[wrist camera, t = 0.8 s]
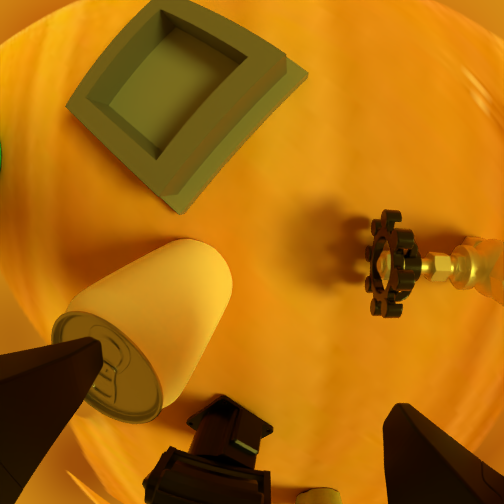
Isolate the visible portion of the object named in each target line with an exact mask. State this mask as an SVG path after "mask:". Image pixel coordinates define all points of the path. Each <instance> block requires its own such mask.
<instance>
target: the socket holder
mask: <svg viewBox="0 0 504 504" xmlns="http://www.w3.org/2000/svg"><path fill="white" fill-rule="evenodd" d="M307 78H308V72H307V71H305V70H304V69H303V68H301V67H300V66H299V65H297V64H296V63H294V62H293V61H292V60H290V59H289V58H287V57H286V54H285V53H284V52H282V51H281V50H279V49H278V48H276V47H275V46H273V45H272V44H270V43H269V42H267V41H265V40H264V39H262V38H261V37H259V36H257V35H256V34H254V33H252V32H250V31H249V30H247V29H245V28H244V27H242V26H240V25H238V24H236V23H235V22H233V21H231V20H229V19H227V18H225V17H223V16H221V15H219V14H217V13H215V12H213V11H211V10H209V9H207V8H205V7H203V6H200V5H198V4H196V3H194V2H191V1H189V0H151V1H150V2H149V3H148V4H147V5H146V6H145V7H144V8H143V9H142V10H141V11H140V12H138V14H137V15H136V16H135V17H134V18H133V19H132V20H131V21H130V22H129V23H128V24H127V25H126V26H125V27H124V28H123V29H122V30H121V32H120V33H119V34H118V35H117V36H116V37H115V38H114V39H113V41H112V42H111V43H110V44H109V45H108V47H107V48H106V49H105V50H104V52H103V53H102V54H101V55H100V57H99V58H98V59H97V60H96V62H95V63H94V64H93V66H92V67H91V68H90V70H89V71H88V73H87V74H86V75H85V77H84V78H83V80H82V81H81V83H80V84H79V85H78V87H77V88H76V90H75V92H74V93H73V95H72V96H71V98H70V99H69V101H68V103H67V104H66V106H65V107H66V108H67V109H68V110H69V111H70V112H71V113H72V114H73V115H74V116H75V117H76V118H77V119H78V120H79V121H80V122H81V123H82V124H83V125H84V126H85V127H86V128H87V129H88V130H89V131H90V132H91V133H92V134H94V135H95V136H96V137H97V138H98V139H99V140H100V141H101V142H102V143H103V144H104V145H105V146H106V147H107V148H108V149H109V150H110V151H111V152H112V153H113V154H114V155H115V156H116V157H117V158H118V159H119V160H120V161H121V162H122V163H123V164H124V165H125V166H127V167H128V168H129V169H130V170H131V171H132V172H133V173H134V174H135V175H136V176H137V177H138V178H139V179H140V180H141V181H142V182H143V183H144V184H145V185H146V186H148V187H149V188H150V189H151V190H152V191H153V192H154V193H155V194H156V195H157V196H158V197H160V198H162V199H163V200H164V201H165V202H166V203H167V204H168V205H169V206H170V207H171V208H172V209H173V210H174V211H175V212H177V213H178V214H179V215H181V214H185V212H186V211H187V210H188V209H189V207H190V206H191V205H192V204H193V202H194V201H195V200H196V199H197V197H198V196H199V195H200V194H201V193H202V191H203V190H204V189H205V188H206V187H207V185H208V184H209V183H210V182H211V181H212V179H213V178H214V177H215V176H216V175H217V173H218V172H219V171H220V170H221V169H222V168H223V167H224V165H225V164H226V163H227V162H228V161H229V160H230V158H231V157H232V156H233V155H234V154H235V153H236V152H237V151H238V149H239V148H240V147H241V146H242V145H243V144H244V143H245V142H246V141H247V139H248V138H249V137H250V136H251V135H252V134H253V133H254V132H255V131H256V130H257V129H258V128H259V127H260V125H261V124H262V123H263V122H264V121H265V120H266V119H267V118H268V117H269V116H270V115H271V114H272V113H273V112H274V111H275V110H276V109H277V108H278V107H279V106H280V105H281V104H282V103H283V102H284V101H285V100H286V99H287V98H288V97H289V96H290V95H291V94H292V93H293V92H294V91H295V90H296V89H297V88H298V87H299V86H300V85H301V84H302V83H303V82H304V81H305V80H306V79H307Z"/></svg>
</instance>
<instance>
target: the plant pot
mask: <svg viewBox="0 0 504 504" xmlns="http://www.w3.org/2000/svg"><path fill="white" fill-rule="evenodd" d="M295 504H342V501H341V497H340V493H339V492H338V491H335V490H333V489H331V488H317V489H311V490H309V491H308V492H306V493H300V494H299V495H298V496H297V498H296V502H295Z"/></svg>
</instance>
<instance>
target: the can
mask: <svg viewBox="0 0 504 504" xmlns="http://www.w3.org/2000/svg"><path fill="white" fill-rule="evenodd" d="M231 293H232V277H231V273H230V270H229V267H228V265H227V263H226V262H225V260H224V259H223V257H222V256H221V255H220V254H219V252H218V251H217V250H215V249H214V248H213V247H211V246H210V245H208V244H206V243H203V242H201V241H197V240H193V239H179V240H175V241H172V242H170V243H168V244H166V245H164V246H162V247H160V248H158V249H156V250H154V251H152V252H150V253H148V254H146V255H144V256H142V257H140V258H139V259H137V260H135V261H133V262H131V263H129V264H127V265H126V266H124V267H122V268H120V269H118V270H117V271H115V272H113V273H111V274H109V275H108V276H106V277H104V278H102V279H101V280H99V281H97V282H95V283H94V284H92V285H90V286H89V287H87V288H86V289H84V290H83V291H81V292H80V293H79V294H77V295H76V296H75V297H74V298H73V299H72V301H71V302H70V304H69V306H68V308H67V310H66V312H65V313H64V314H62V315H61V316H60V317H59V318H58V319H57V320H56V321H55V323H54V325H53V328H52V334H51V343H52V344H57V343H61V342H66V341H70V340H74V339H79V338H83V337H87V336H90V337H93V338H95V339H97V340H99V341H100V342H101V345H102V354H103V367H102V369H101V371H100V373H99V374H98V376H97V378H96V379H95V381H94V383H93V385H92V386H91V388H90V390H89V392H88V394H87V395H86V397H85V399H84V400H85V401H86V402H87V403H88V404H89V405H90V406H92V407H93V408H95V409H96V410H98V411H99V412H101V413H102V414H104V415H106V416H108V417H110V418H112V419H115V420H118V421H121V422H125V423H130V424H142V423H147V422H150V421H152V420H153V419H155V418H156V417H157V416H158V415H159V413H160V412H161V409H163V408H165V407H167V406H168V405H170V404H171V403H173V402H174V401H175V400H176V399H177V398H178V397H179V396H180V394H181V393H182V391H183V390H184V388H185V386H186V384H187V383H188V381H189V379H190V377H191V375H192V373H193V371H194V369H195V367H196V366H197V364H198V362H199V360H200V358H201V356H202V354H203V352H204V350H205V348H206V346H207V344H208V342H209V340H210V338H211V336H212V334H213V332H214V330H215V328H216V326H217V325H218V323H219V321H220V319H221V317H222V315H223V313H224V311H225V309H226V306H227V304H228V302H229V300H230V297H231Z"/></svg>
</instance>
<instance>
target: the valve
mask: <svg viewBox="0 0 504 504" xmlns="http://www.w3.org/2000/svg"><path fill="white" fill-rule="evenodd" d="M395 222H402V216H401V213H400V211H398V210H387V209H385V210H383V212H382V215H381V219H373V221H372V223H371V233H372V235H373V236H374V241H373V246H367V247H366V252H365V258H366V261H367V262H370V275H369V276H367V277H366V280H365V290H366V292H367V293H373V299H372V301H371V305H370V311H371V315H372V316H382V317H383V318H399V317H400V316H401V314H402V310H403V304H396V303H395V302H400V301H403V300H405V299H406V298H407V297H408V296H409V295H410V293H411V291H412V289H413V287H414V284H415V282H416V281H417V280H418V279H419V277H420V275H421V274H424V276H425V278H426V279H428V280H429V281H446V280H447V278H449V279H450V281H451V283H452V285H453V286H454V287H455V288H456V289H459V290H465V289H472V288H473V287H474V288H475V289H476V290H477V291H478V292H479V293H481V294H482V295H484V296H487V297H492V298H493V299H494V300H496V301H497V302H498V303H500V304H501V305H503V306H504V242H503V241H501V240H497V239H488V240H486V239H483V238H478V237H467V236H466V238H465V239H464V241H463V243H462V245H458V246H457V247H455V249H454V250H453V251H452V253H451V254H450V256H449V255H447V254H445V253H439V252H428V253H427V255H426V256H425V258H421V255H420V253H419V252H418V246H417V244H416V242H415V240H414V234H413V232H412V230H410V229H399V228H395V229H394V224H395ZM386 241H388V244H389V248H390V251H384V250H383V247H384V244H385V242H386ZM407 249H408V250H407ZM381 278H382V279H384V280H389V281H388V284H387V287H386V289H385V290H384V287H383V284H382V279H381ZM399 291H401V292H399ZM398 292H399V293H398Z"/></svg>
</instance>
